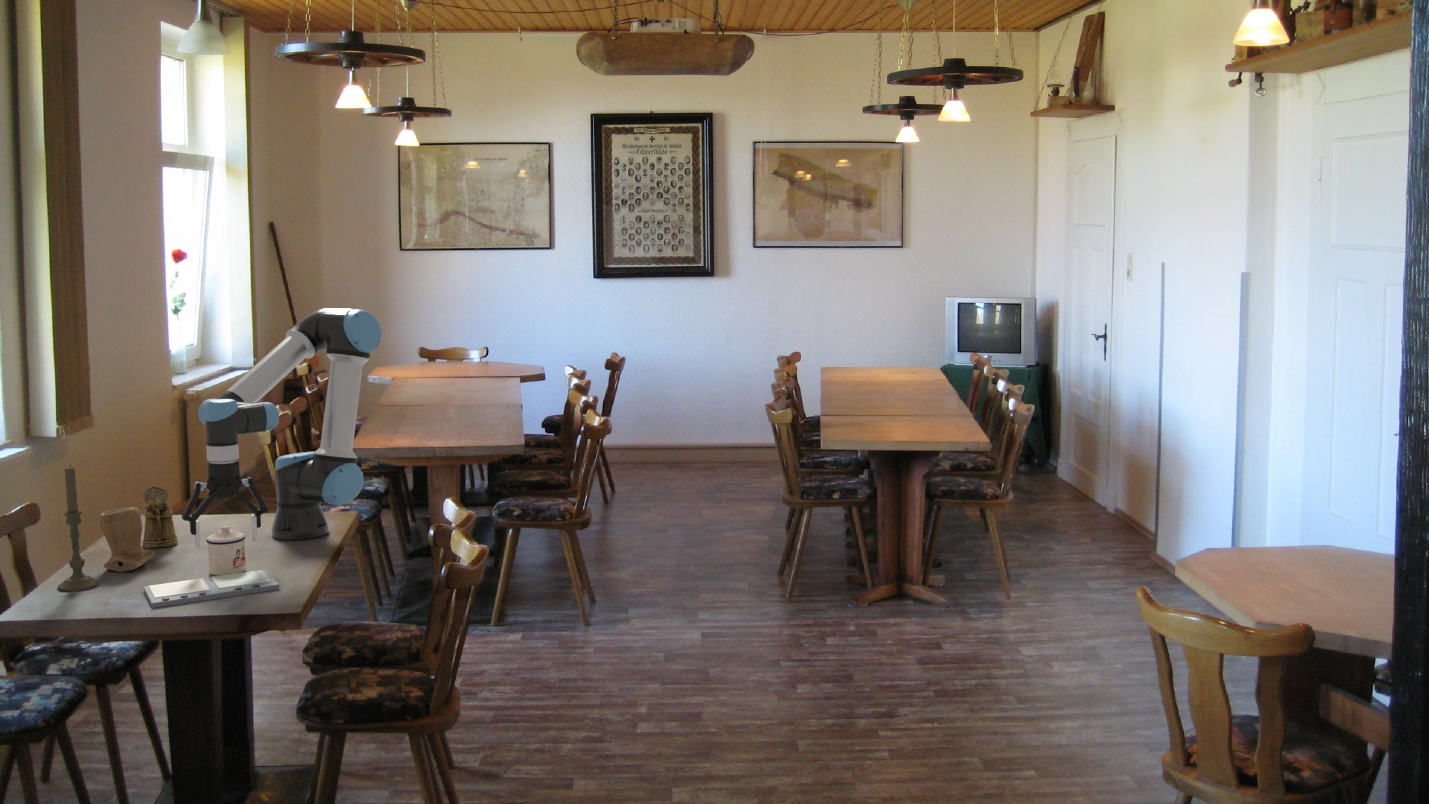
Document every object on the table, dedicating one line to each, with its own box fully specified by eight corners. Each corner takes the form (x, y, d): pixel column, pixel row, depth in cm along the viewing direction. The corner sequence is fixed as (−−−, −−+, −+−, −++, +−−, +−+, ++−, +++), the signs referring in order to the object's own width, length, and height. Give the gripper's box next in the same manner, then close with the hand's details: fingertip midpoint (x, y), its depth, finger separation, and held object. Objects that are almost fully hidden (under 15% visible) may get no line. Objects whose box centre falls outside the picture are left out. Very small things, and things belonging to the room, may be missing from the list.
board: (265, 574, 309) (265, 568, 309) (279, 589, 297) (278, 583, 296) (144, 591, 295) (143, 585, 295) (152, 608, 282) (152, 602, 282)
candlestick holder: (102, 587, 298) (93, 466, 294) (60, 594, 293) (50, 470, 288) (96, 578, 305) (87, 460, 301) (54, 585, 300) (45, 464, 296)
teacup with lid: (240, 576, 308) (237, 530, 306) (203, 576, 307) (200, 531, 305) (255, 563, 319) (252, 519, 318) (219, 563, 319) (216, 519, 317)
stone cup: (113, 558, 324) (109, 502, 322) (160, 557, 325) (156, 501, 323) (90, 574, 309) (86, 516, 307) (140, 573, 310) (136, 515, 308)
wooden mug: (139, 554, 328) (135, 488, 325) (143, 542, 341) (139, 478, 338) (176, 551, 331) (171, 485, 328) (178, 539, 344) (174, 476, 341)
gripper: (271, 454, 319) (274, 534, 322) (167, 462, 306) (171, 546, 309) (277, 459, 312) (280, 540, 315) (171, 467, 300) (175, 552, 302)
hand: (226, 543), depth 312 cm, fingers open, 13 cm apart
